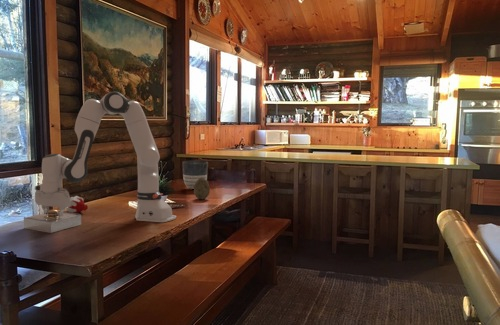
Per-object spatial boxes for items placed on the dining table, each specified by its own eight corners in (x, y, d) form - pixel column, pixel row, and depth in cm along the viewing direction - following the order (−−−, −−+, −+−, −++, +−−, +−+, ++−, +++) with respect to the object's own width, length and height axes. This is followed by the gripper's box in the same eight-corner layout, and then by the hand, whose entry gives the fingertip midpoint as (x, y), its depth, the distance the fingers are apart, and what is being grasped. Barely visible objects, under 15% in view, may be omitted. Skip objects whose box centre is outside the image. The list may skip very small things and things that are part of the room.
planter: (206, 191, 316) (206, 163, 314) (180, 191, 316) (180, 162, 314) (209, 187, 335) (209, 160, 333) (184, 187, 336) (184, 160, 333)
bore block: (81, 224, 210) (81, 214, 210) (51, 232, 194) (50, 221, 193) (55, 220, 217) (54, 210, 217) (24, 228, 201) (23, 217, 201)
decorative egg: (205, 201, 277) (205, 178, 276) (190, 200, 281) (191, 177, 279) (212, 198, 288) (212, 176, 286) (197, 197, 291) (198, 176, 290)
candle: (72, 208, 245) (93, 214, 240) (58, 212, 234) (79, 218, 229) (73, 193, 243) (95, 198, 239) (59, 196, 233) (81, 202, 228)
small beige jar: (60, 226, 207) (60, 210, 206) (52, 228, 203) (52, 211, 202) (53, 224, 209) (53, 209, 208) (46, 226, 205) (45, 210, 204)
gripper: (73, 188, 202) (74, 216, 204) (43, 184, 211) (43, 211, 212) (62, 189, 197) (63, 218, 198) (32, 186, 205) (33, 214, 206)
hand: (53, 215), depth 205 cm, fingers open, 8 cm apart
